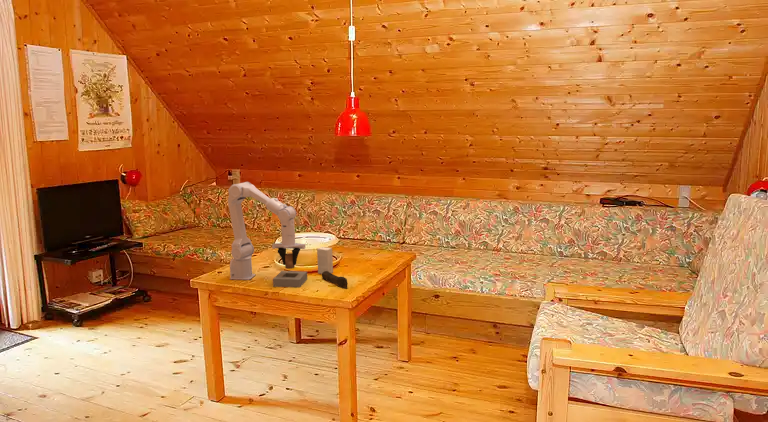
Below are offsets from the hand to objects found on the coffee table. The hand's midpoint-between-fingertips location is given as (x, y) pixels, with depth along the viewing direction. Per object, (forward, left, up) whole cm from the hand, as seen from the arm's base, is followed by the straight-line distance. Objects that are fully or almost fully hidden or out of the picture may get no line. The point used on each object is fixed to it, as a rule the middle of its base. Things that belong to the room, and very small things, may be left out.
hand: (289, 264), depth 245 cm
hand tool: (+21, +1, -9) cm, 23 cm away
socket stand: (0, 0, -8) cm, 8 cm away
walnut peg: (0, 0, -1) cm, 1 cm away
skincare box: (+12, +16, -9) cm, 22 cm away
